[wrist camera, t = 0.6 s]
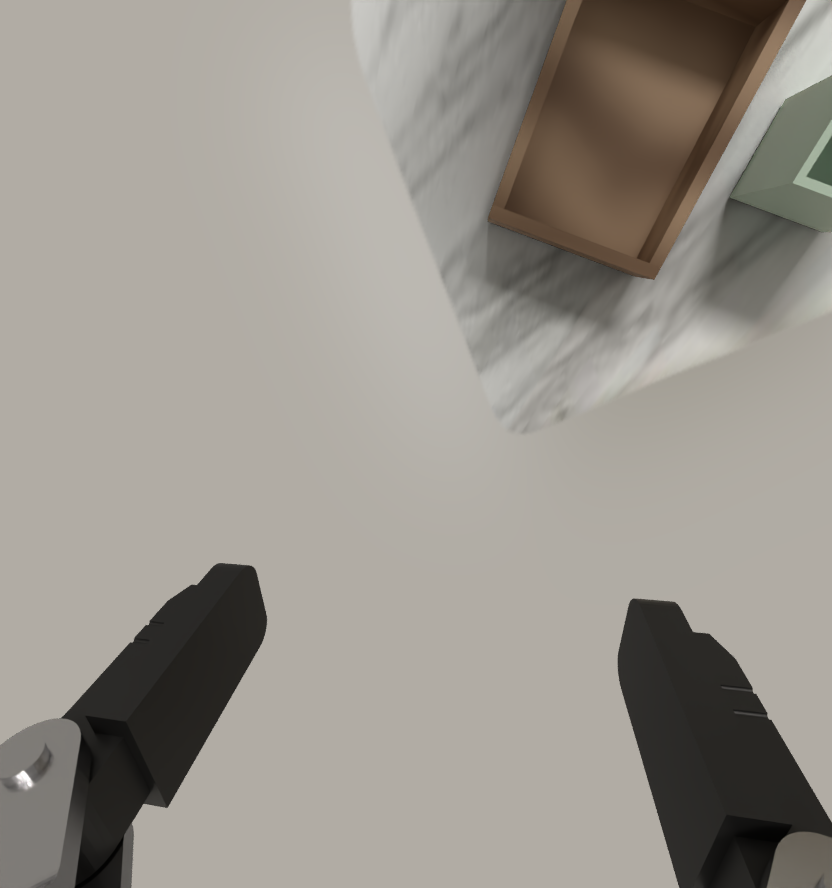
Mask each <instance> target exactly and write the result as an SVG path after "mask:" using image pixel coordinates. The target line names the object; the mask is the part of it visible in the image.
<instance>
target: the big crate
mask: <svg viewBox="0 0 832 888" xmlns="http://www.w3.org/2000/svg"><path fill="white" fill-rule="evenodd" d="M805 2H806V0H567V1H566V4H565V6H564V9H563V12H562V15H561V17H560V20H559V23H558V26H557V28H556V31H555V34H554V37H553V39H552V42H551V45H550V48H549V50H548V53H547V56H546V59H545V61H544V64H543V67H542V70H541V73H540V75H539V78H538V81H537V84H536V86H535V89H534V92H533V95H532V97H531V100H530V103H529V106H528V108H527V111H526V114H525V117H524V119H523V122H522V125H521V128H520V131H519V133H518V136H517V139H516V142H515V144H514V147H513V150H512V153H511V155H510V158H509V161H508V164H507V166H506V169H505V172H504V175H503V177H502V180H501V183H500V186H499V189H498V191H497V194H496V197H495V200H494V202H493V205H492V208H491V211H490V213H489V216H488V222H491V223H493V224H496V225H499V226H501V227H504V228H507V229H509V230H512V231H515V232H517V233H520V234H523V235H525V236H528V237H531V238H533V239H536V240H539V241H542V242H544V243H547V244H550V245H552V246H555V247H558V248H560V249H563V250H566V251H568V252H571V253H574V254H576V255H579V256H582V257H584V258H587V259H590V260H592V261H595V262H598V263H600V264H603V265H606V266H608V267H611V268H614V269H616V270H619V271H622V272H625V273H627V274H630V275H633V276H635V277H641V278H647V279H653V280H654V279H655V277H656V276H657V274H658V272H659V270H660V268H661V266H662V264H663V263H664V261H665V259H666V257H667V255H668V253H669V252H670V250H671V248H672V246H673V244H674V242H675V241H676V239H677V237H678V235H679V233H680V231H681V230H682V228H683V226H684V224H685V222H686V220H687V219H688V217H689V215H690V213H691V211H692V209H693V208H694V206H695V204H696V202H697V200H698V198H699V196H700V195H701V193H702V191H703V189H704V187H705V185H706V184H707V182H708V180H709V178H710V176H711V174H712V173H713V171H714V169H715V167H716V165H717V163H718V162H719V160H720V158H721V156H722V154H723V152H724V151H725V149H726V147H727V145H728V143H729V141H730V139H731V138H732V136H733V134H734V132H735V130H736V128H737V127H738V125H739V123H740V121H741V119H742V117H743V116H744V114H745V112H746V110H747V108H748V106H749V105H750V103H751V101H752V99H753V97H754V95H755V94H756V92H757V90H758V88H759V86H760V84H761V83H762V81H763V79H764V77H765V75H766V73H767V71H768V70H769V68H770V66H771V64H772V62H773V60H774V59H775V57H776V55H777V53H778V51H779V49H780V48H781V46H782V44H783V42H784V40H785V38H786V37H787V35H788V33H789V31H790V29H791V27H792V26H793V24H794V22H795V20H796V18H797V16H798V15H799V13H800V11H801V9H802V7H803V5H804V3H805Z"/></svg>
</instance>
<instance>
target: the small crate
mask: <svg viewBox="0 0 832 888" xmlns="http://www.w3.org/2000/svg"><path fill="white" fill-rule="evenodd" d="M730 198H732V199H735V200H738V201H740V202H743V203H746V204H748V205H751V206H754V207H756V208H759V209H762V210H764V211H767V212H770V213H772V214H775V215H778V216H780V217H783V218H786V219H789V220H791V221H794V222H797V223H799V224H802V225H805V226H807V227H810V228H813V229H815V230H818V231H821V232H832V76H830V77H828V78H826V79H824V80H822V81H820V82H818V83H816V84H814V85H812V86H810V87H809V88H807V89H805V90H803V91H801V92H799V93H797V94H795V95H793V96H791V97H789V98H787V99H785V101H784V103H783V105H782V106H781V108H780V110H779V112H778V113H777V115H776V117H775V119H774V120H773V122H772V124H771V126H770V127H769V129H768V131H767V133H766V134H765V136H764V138H763V140H762V141H761V143H760V145H759V147H758V148H757V150H756V152H755V154H754V155H753V157H752V159H751V161H750V162H749V164H748V166H747V168H746V169H745V171H744V173H743V175H742V176H741V178H740V180H739V182H738V183H737V185H736V187H735V189H734V190H733V192H732V194H731V196H730Z"/></svg>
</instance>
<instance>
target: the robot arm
mask: <svg viewBox="0 0 832 888" xmlns="http://www.w3.org/2000/svg"><path fill="white" fill-rule="evenodd" d="M266 625H267V616H266V611H265V607H264V602H263V599H262V594H261V590H260V586H259V581H258V577H257V573H256V570H255V569H254V567H252V566H249V565H237V564H225V563H219V564H216V565H215V566H213V567H212V568H211V570H210V571H209V572H208V573H207V574H206V575H205V576H204V578H203V579H202V580H201V581H200V582H199V583H198V585H190V586H189V587H188V588H186V589H185V590H183V591H182V592H180V593H179V594H177V595H176V596H174V597H173V598H171V599H170V600H168V601H167V602H166V604H165V605H164V606H163V607H162V608H161V609H160V610H159V611H158V612H157V613H156V615H155V616H154V617H153V618H152V619H151V620H150V623H149V625H146V626H145V627H144V628H143V629H142V630H141V631H140V632H139V633H138V634H137V636H136V637H135V639H134V642H133V643H129V644H128V646H127V647H126V648H125V649H124V650H123V651H122V652H121V653H120V655H118V657H117V658H116V659H115V660H114V661H113V662H112V663H111V665H109V667H108V668H107V669H106V670H105V671H104V672H103V673H102V674H101V675H100V676H99V678H98V679H97V680H96V681H95V682H94V683H93V684H92V685H91V686H90V688H89V689H88V690H87V691H86V692H85V693H84V694H83V695H82V696H81V697H80V699H79V700H78V701H77V702H76V703H75V704H74V705H73V706H72V707H71V709H70V710H69V711H68V712H67V713H66V714H65V715H64V716H63V717H62V718H59V719H51V720H46V721H43V722H40V723H37V724H34V725H32V726H30V727H28V728H26V729H24V730H22V731H20V732H19V733H17V734H15V735H14V736H12V737H11V738H9V739H8V740H7V741H5V742H4V743H3V744H1V745H0V888H131V883H132V861H133V840H134V831H133V825H132V821H133V820H134V818H135V817H136V815H137V813H138V812H139V810H140V809H141V807H142V805H143V804H149V805H154V806H160V807H165V808H167V807H168V806H169V804H170V802H171V801H172V799H173V797H174V795H175V793H176V792H177V790H178V789H179V787H180V785H181V783H182V782H183V780H184V778H185V776H186V775H187V773H188V771H189V769H190V768H191V766H192V764H193V762H194V761H195V759H196V757H197V755H198V754H199V752H200V750H201V748H202V747H203V745H204V743H205V741H206V740H207V738H208V736H209V735H210V733H211V731H212V729H213V728H214V726H215V724H216V722H217V721H218V719H219V717H220V715H221V714H222V711H223V710H224V708H225V707H226V705H227V703H228V701H229V700H230V698H231V696H232V694H233V693H234V691H235V689H236V687H237V686H238V684H239V682H240V680H241V678H242V677H243V675H244V673H245V672H246V670H247V668H248V667H249V665H250V663H251V661H252V659H253V658H254V656H255V654H256V652H257V651H258V649H259V647H260V645H261V644H262V641H263V639H264V636H265V632H266ZM618 674H619V681H620V686H621V689H622V693H623V696H624V700H625V703H626V707H627V710H628V713H629V717H630V720H631V724H632V726H633V731H634V734H635V737H636V741H637V744H638V748H639V751H640V754H641V758H642V761H643V765H644V768H645V772H646V775H647V778H648V782H649V785H650V789H651V792H652V795H653V799H654V802H655V806H656V809H657V813H658V816H659V820H660V823H661V826H662V830H663V833H664V837H665V840H666V844H667V847H668V850H669V854H670V857H671V861H672V864H673V868H674V871H675V874H676V878H677V881H678V885H679V888H832V822H831V821H830V819H829V817H828V816H827V814H826V812H825V811H824V809H823V807H822V805H821V804H820V802H819V800H818V799H817V797H816V795H815V793H814V792H813V790H812V789H811V787H810V785H809V783H808V782H807V780H806V778H805V776H804V775H803V773H802V771H801V770H800V768H799V766H798V764H797V763H796V761H795V759H794V758H793V756H792V754H791V753H790V751H789V749H788V747H787V746H786V744H785V742H784V741H783V739H782V738H781V736H780V734H779V732H778V730H777V729H776V727H775V725H774V724H773V722H772V720H769V719H768V717H767V712H766V710H765V708H764V707H763V705H762V703H761V702H760V700H759V698H758V696H757V695H756V694H754V693H753V691H752V686H751V684H750V683H749V681H748V679H747V678H746V676H745V674H744V673H743V671H742V669H741V668H740V666H739V664H738V662H737V661H736V659H735V658H734V657H733V656H732V655H731V654H730V653H729V652H728V651H727V650H726V649H725V648H723V647H722V646H721V645H720V644H719V643H718V642H717V641H716V640H715V639H714V638H713V637H712V636H711V635H710V634H706V633H695V632H693V631H692V629H691V628H690V626H689V624H688V622H687V620H686V618H685V616H684V614H683V612H682V610H681V609H680V607H679V606H678V604H676V603H675V602H670V601H657V600H645V599H632V600H631V601H630V603H629V607H628V611H627V616H626V621H625V625H624V630H623V634H622V638H621V643H620V647H619V652H618Z"/></svg>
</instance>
